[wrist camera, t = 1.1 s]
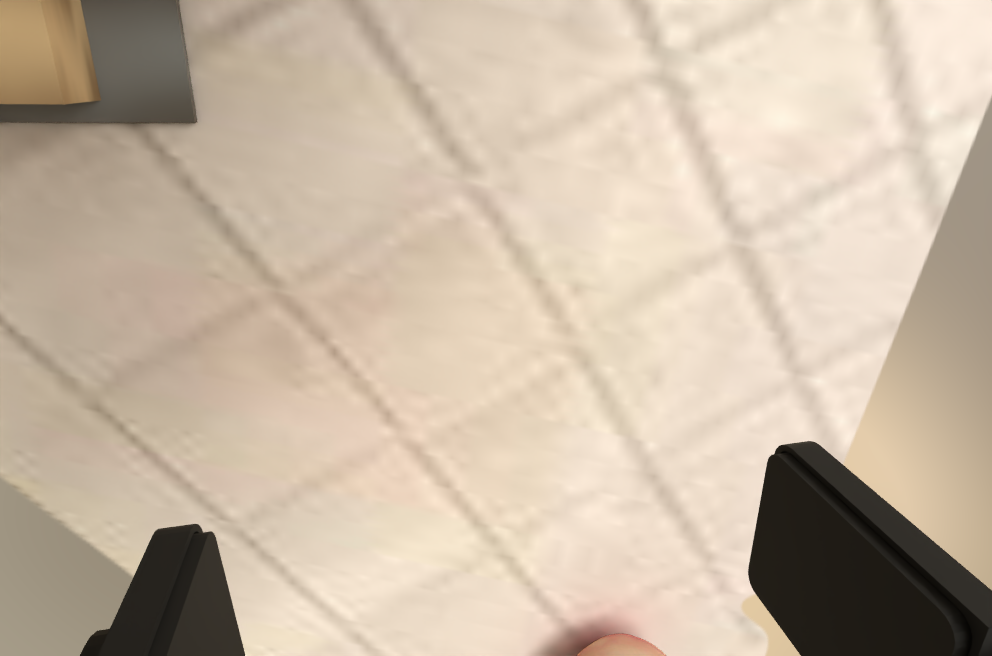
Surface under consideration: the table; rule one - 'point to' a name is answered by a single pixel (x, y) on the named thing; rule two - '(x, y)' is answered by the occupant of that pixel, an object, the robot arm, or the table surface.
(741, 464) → the table surface
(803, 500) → the robot arm
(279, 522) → the table surface
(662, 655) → the decorative fruit
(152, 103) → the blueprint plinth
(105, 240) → the table surface
